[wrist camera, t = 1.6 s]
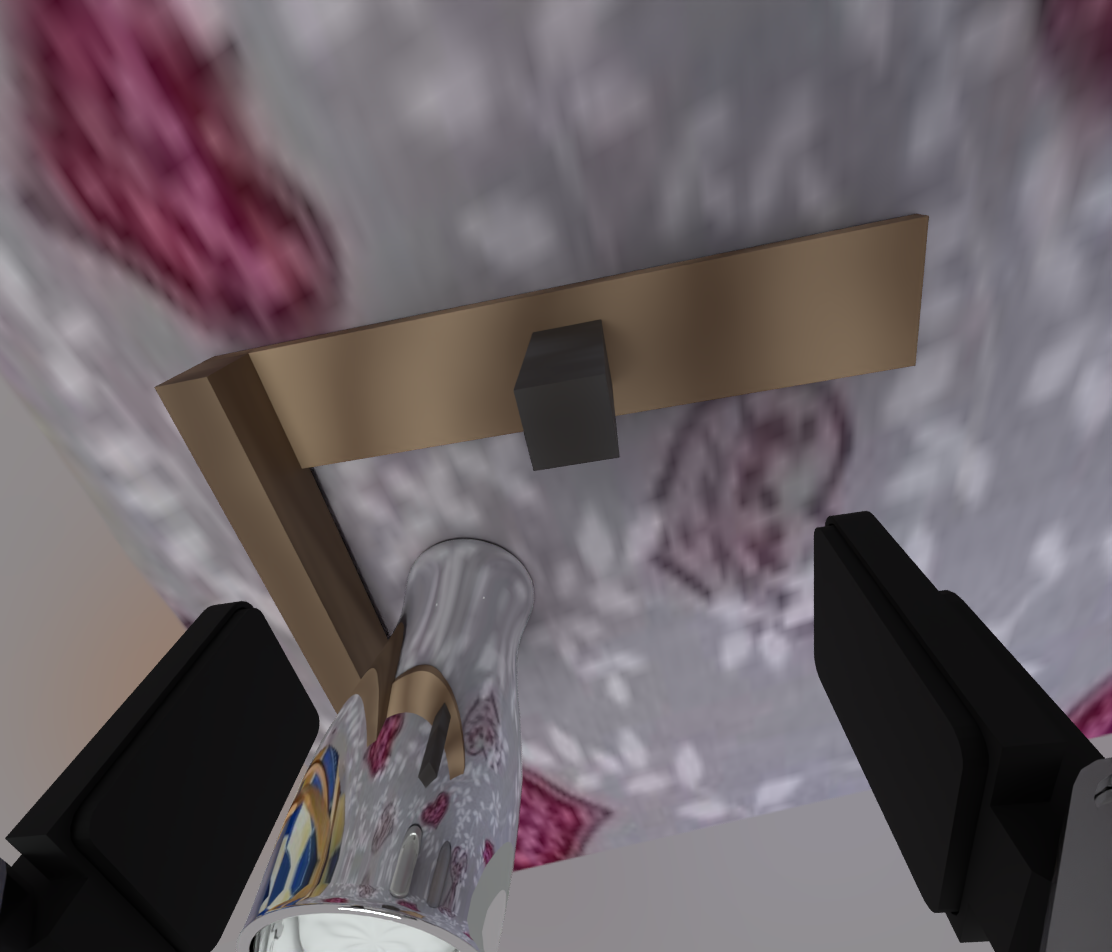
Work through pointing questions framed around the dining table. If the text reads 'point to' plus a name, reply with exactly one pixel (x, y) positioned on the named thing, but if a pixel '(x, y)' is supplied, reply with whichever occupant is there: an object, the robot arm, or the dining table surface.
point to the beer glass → (413, 779)
